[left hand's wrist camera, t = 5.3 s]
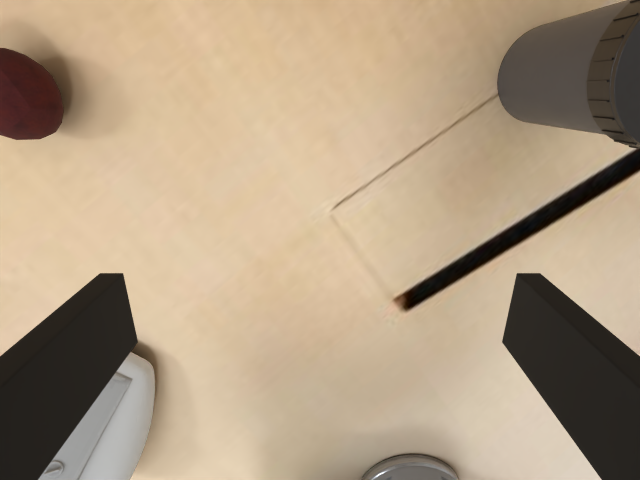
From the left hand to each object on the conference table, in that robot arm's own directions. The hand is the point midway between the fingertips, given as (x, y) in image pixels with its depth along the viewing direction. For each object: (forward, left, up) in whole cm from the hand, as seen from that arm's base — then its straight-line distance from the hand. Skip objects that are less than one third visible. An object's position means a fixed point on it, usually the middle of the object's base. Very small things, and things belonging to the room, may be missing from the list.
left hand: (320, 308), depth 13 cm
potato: (+6, +27, -28) cm, 39 cm away
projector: (-32, +30, -28) cm, 52 cm away
